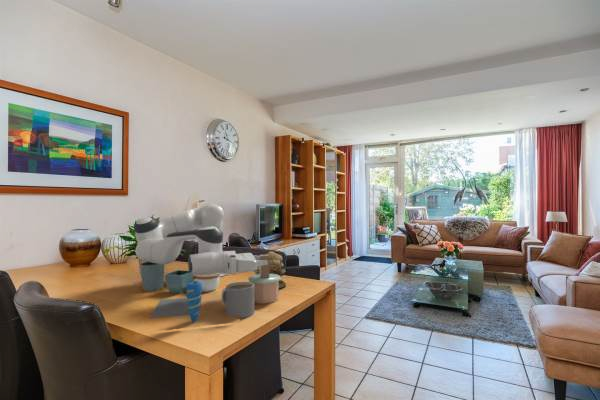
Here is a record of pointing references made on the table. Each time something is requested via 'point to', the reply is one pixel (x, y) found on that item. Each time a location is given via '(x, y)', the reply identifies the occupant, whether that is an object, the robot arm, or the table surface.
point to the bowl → (266, 293)
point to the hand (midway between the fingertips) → (265, 260)
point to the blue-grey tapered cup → (152, 276)
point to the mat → (171, 308)
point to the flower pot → (178, 281)
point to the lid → (264, 274)
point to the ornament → (194, 298)
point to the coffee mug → (239, 299)
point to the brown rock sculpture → (275, 267)
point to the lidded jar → (208, 281)
